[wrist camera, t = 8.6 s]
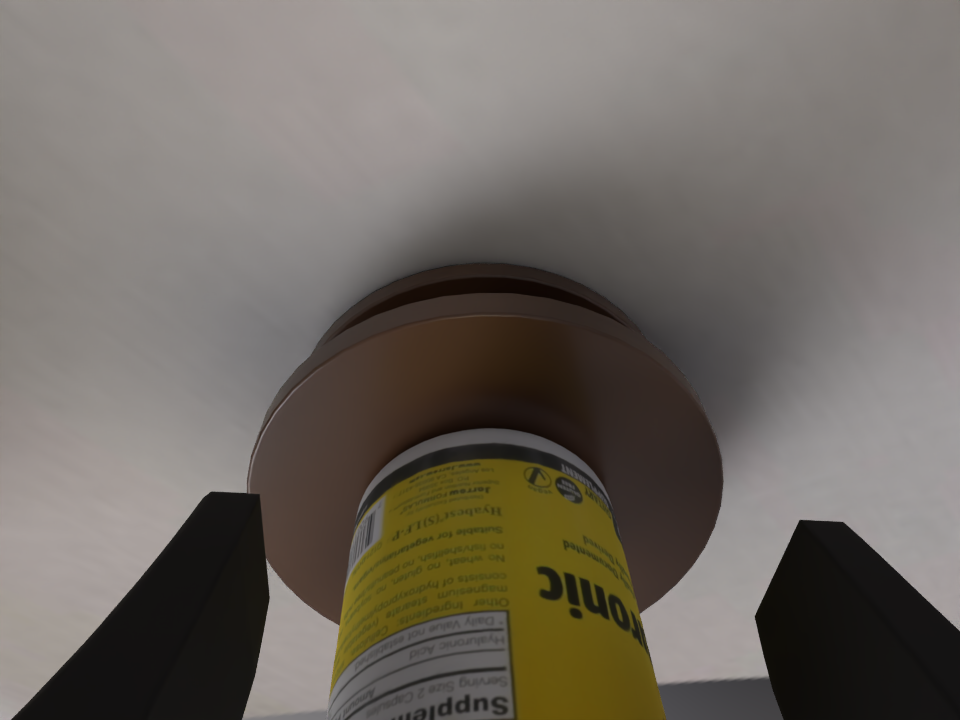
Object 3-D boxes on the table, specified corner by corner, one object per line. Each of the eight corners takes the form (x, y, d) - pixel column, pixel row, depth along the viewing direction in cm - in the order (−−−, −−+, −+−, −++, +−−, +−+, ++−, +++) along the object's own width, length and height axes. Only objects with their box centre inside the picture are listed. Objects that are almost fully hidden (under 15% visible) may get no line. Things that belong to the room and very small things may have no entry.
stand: (738, 258, 16) (790, 332, 14) (638, 572, 22) (662, 666, 19) (261, 222, 15) (223, 294, 13) (285, 557, 21) (261, 652, 18)
